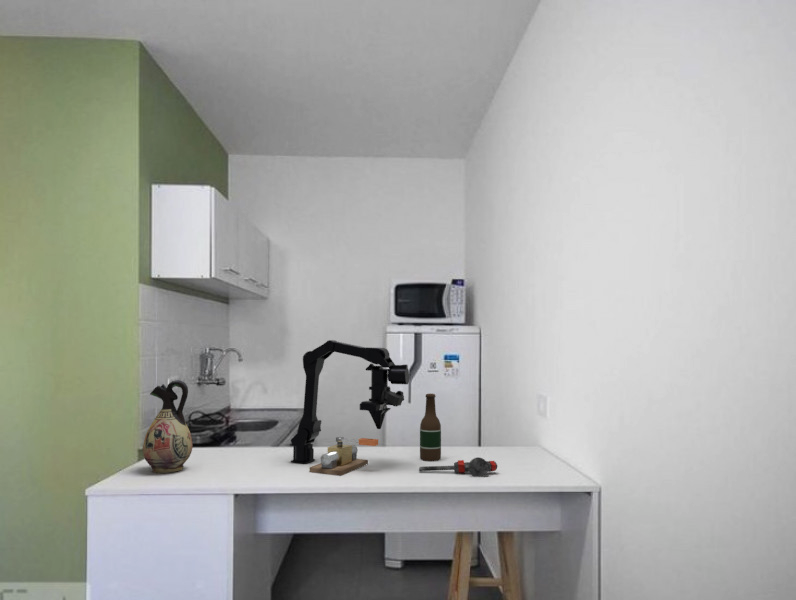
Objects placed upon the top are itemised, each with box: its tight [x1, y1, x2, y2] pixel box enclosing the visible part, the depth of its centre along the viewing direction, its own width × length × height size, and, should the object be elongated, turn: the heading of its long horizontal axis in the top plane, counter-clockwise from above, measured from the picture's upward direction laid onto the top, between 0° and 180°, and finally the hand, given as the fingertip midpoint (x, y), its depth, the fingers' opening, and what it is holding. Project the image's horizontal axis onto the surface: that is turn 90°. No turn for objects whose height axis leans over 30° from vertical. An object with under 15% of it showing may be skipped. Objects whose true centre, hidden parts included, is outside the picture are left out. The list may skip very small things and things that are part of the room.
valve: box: [418, 457, 498, 478], centre depth 188 cm, size 6×26×15 cm
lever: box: [335, 436, 379, 447], centre depth 189 cm, size 15×3×2 cm, turn 66°
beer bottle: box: [419, 393, 442, 462], centre depth 207 cm, size 8×8×24 cm
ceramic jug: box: [142, 379, 193, 474], centre depth 187 cm, size 17×15×30 cm
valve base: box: [309, 442, 369, 476], centre depth 191 cm, size 12×19×9 cm, turn 156°
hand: (379, 428), depth 194 cm, fingers closed
